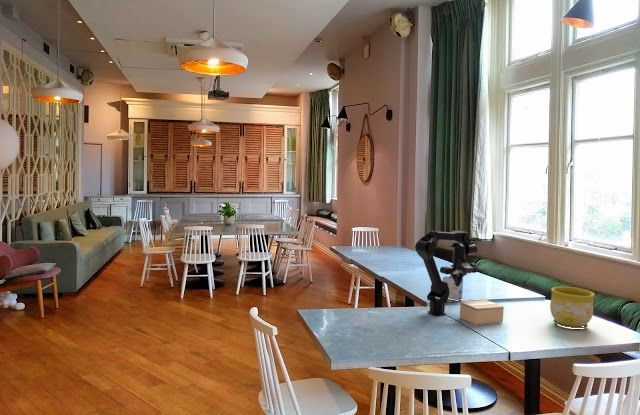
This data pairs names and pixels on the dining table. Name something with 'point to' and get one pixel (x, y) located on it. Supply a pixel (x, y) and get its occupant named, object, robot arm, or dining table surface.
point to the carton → (481, 315)
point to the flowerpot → (571, 306)
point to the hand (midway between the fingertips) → (457, 286)
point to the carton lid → (481, 304)
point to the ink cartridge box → (453, 288)
